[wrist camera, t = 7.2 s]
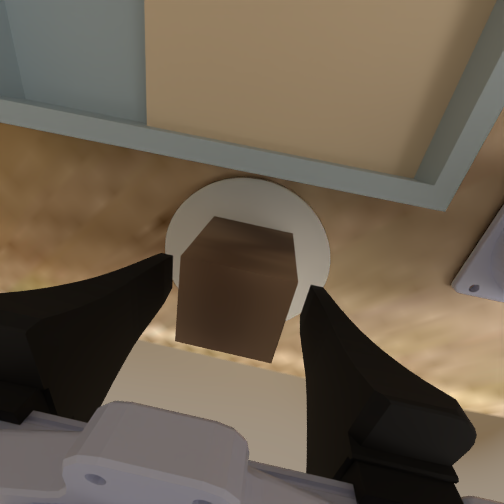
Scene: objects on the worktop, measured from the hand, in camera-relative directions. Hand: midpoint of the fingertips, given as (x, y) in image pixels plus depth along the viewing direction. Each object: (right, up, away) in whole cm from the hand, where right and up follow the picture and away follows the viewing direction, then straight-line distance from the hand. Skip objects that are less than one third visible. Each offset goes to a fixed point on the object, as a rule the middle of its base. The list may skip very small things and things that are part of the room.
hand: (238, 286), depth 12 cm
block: (0, +1, +2) cm, 2 cm away
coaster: (0, +1, +3) cm, 3 cm away
